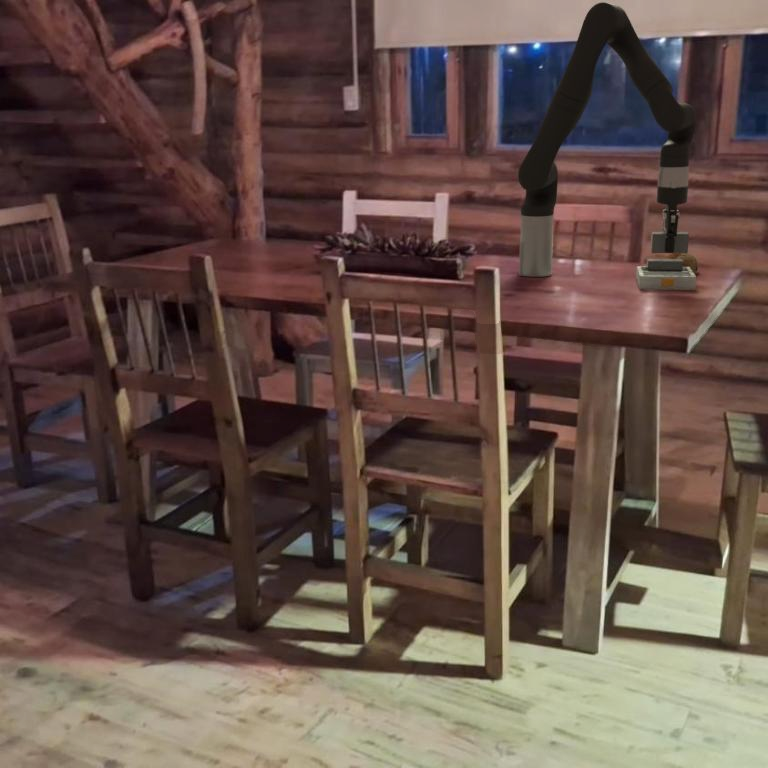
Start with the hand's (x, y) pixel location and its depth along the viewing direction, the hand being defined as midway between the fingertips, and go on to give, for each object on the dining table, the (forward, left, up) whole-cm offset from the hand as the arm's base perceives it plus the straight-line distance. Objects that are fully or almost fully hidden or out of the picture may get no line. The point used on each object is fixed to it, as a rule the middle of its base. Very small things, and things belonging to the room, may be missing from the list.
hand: (668, 250), depth 230 cm
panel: (0, 0, 0) cm, 0 cm away
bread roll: (+5, +22, -10) cm, 24 cm away
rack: (0, +4, -10) cm, 10 cm away
